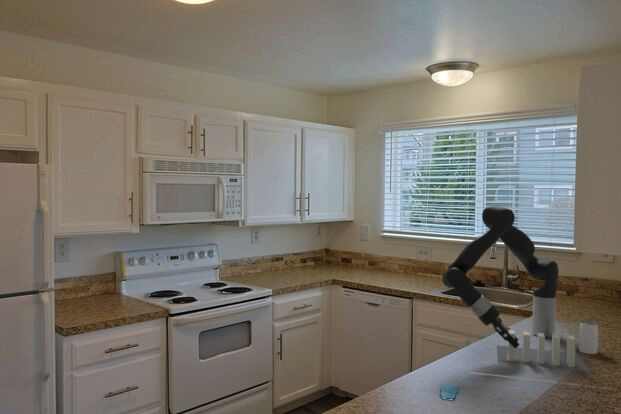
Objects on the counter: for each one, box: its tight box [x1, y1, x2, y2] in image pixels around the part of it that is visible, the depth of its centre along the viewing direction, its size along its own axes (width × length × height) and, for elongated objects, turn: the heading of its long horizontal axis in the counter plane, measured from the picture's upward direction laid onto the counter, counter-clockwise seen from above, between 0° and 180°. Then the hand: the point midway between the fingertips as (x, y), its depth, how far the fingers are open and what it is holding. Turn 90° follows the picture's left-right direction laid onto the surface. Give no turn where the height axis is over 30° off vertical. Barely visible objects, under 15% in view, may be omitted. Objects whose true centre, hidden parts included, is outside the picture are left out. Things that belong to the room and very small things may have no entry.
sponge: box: [439, 383, 460, 401], centre depth 162 cm, size 2×12×6 cm
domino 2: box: [522, 331, 531, 362], centre depth 193 cm, size 5×2×10 cm, turn 161°
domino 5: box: [566, 334, 576, 367], centre depth 188 cm, size 5×2×10 cm, turn 161°
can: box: [578, 320, 599, 355], centre depth 204 cm, size 6×6×12 cm
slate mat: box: [496, 344, 590, 373], centre depth 196 cm, size 22×30×1 cm
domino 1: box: [508, 329, 516, 361], centre depth 194 cm, size 5×2×10 cm, turn 161°
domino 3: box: [536, 333, 546, 364], centre depth 191 cm, size 5×2×10 cm, turn 161°
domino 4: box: [551, 333, 561, 365], centre depth 189 cm, size 5×2×10 cm, turn 161°
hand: (516, 343), depth 194 cm, fingers open, 6 cm apart
